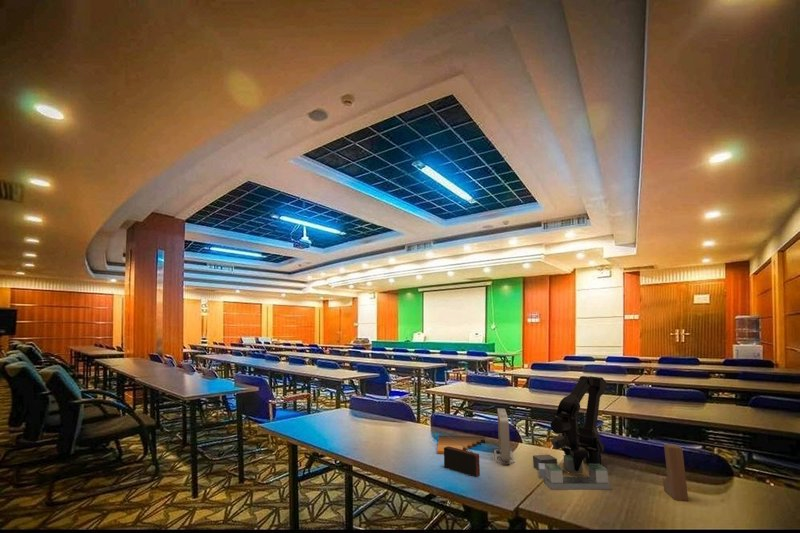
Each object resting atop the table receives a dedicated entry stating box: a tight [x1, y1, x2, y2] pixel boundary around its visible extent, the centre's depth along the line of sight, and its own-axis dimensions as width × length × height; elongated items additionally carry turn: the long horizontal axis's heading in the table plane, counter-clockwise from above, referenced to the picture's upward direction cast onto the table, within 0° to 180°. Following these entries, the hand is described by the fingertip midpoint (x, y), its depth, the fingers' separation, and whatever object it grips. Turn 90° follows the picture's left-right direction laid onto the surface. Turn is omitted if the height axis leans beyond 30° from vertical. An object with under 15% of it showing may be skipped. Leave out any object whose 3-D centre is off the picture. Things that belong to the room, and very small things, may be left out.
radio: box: [440, 430, 481, 478], centre depth 166 cm, size 19×3×15 cm, turn 47°
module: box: [563, 454, 584, 474], centre depth 164 cm, size 6×4×6 cm
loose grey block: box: [532, 454, 558, 472], centre depth 167 cm, size 8×6×5 cm
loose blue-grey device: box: [538, 463, 545, 480], centre depth 159 cm, size 5×7×4 cm
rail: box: [543, 463, 612, 490], centre depth 150 cm, size 23×7×7 cm, turn 90°
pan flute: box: [436, 434, 486, 455], centre depth 198 cm, size 25×3×25 cm
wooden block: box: [662, 443, 689, 502], centre depth 142 cm, size 9×4×18 cm, turn 167°
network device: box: [493, 408, 516, 465], centre depth 184 cm, size 26×9×20 cm, turn 168°
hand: (573, 468), depth 164 cm, fingers open, 6 cm apart
